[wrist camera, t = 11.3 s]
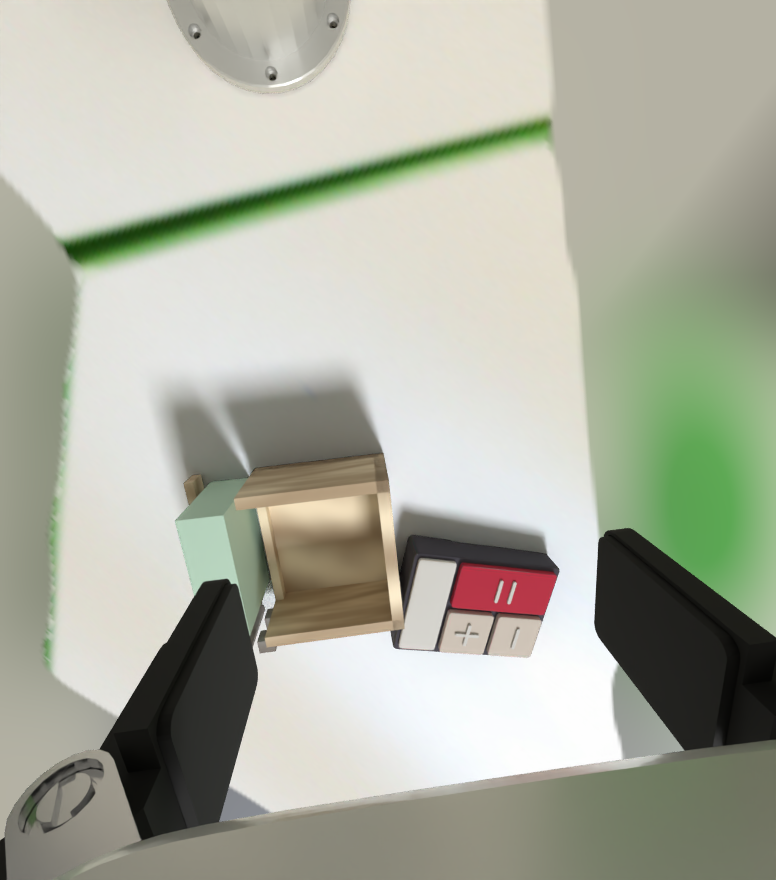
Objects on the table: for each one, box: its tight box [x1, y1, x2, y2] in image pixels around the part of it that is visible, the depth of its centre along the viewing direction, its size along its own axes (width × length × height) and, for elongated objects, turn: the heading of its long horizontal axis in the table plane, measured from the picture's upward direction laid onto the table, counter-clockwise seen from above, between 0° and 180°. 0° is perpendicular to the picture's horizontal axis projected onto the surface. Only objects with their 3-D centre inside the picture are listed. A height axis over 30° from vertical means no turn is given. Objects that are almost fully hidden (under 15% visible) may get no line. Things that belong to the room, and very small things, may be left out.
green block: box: [175, 478, 270, 635], centre depth 37 cm, size 12×4×8 cm, turn 5°
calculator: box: [391, 535, 559, 658], centre depth 42 cm, size 11×4×15 cm
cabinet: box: [184, 453, 405, 653], centre depth 37 cm, size 16×18×8 cm
